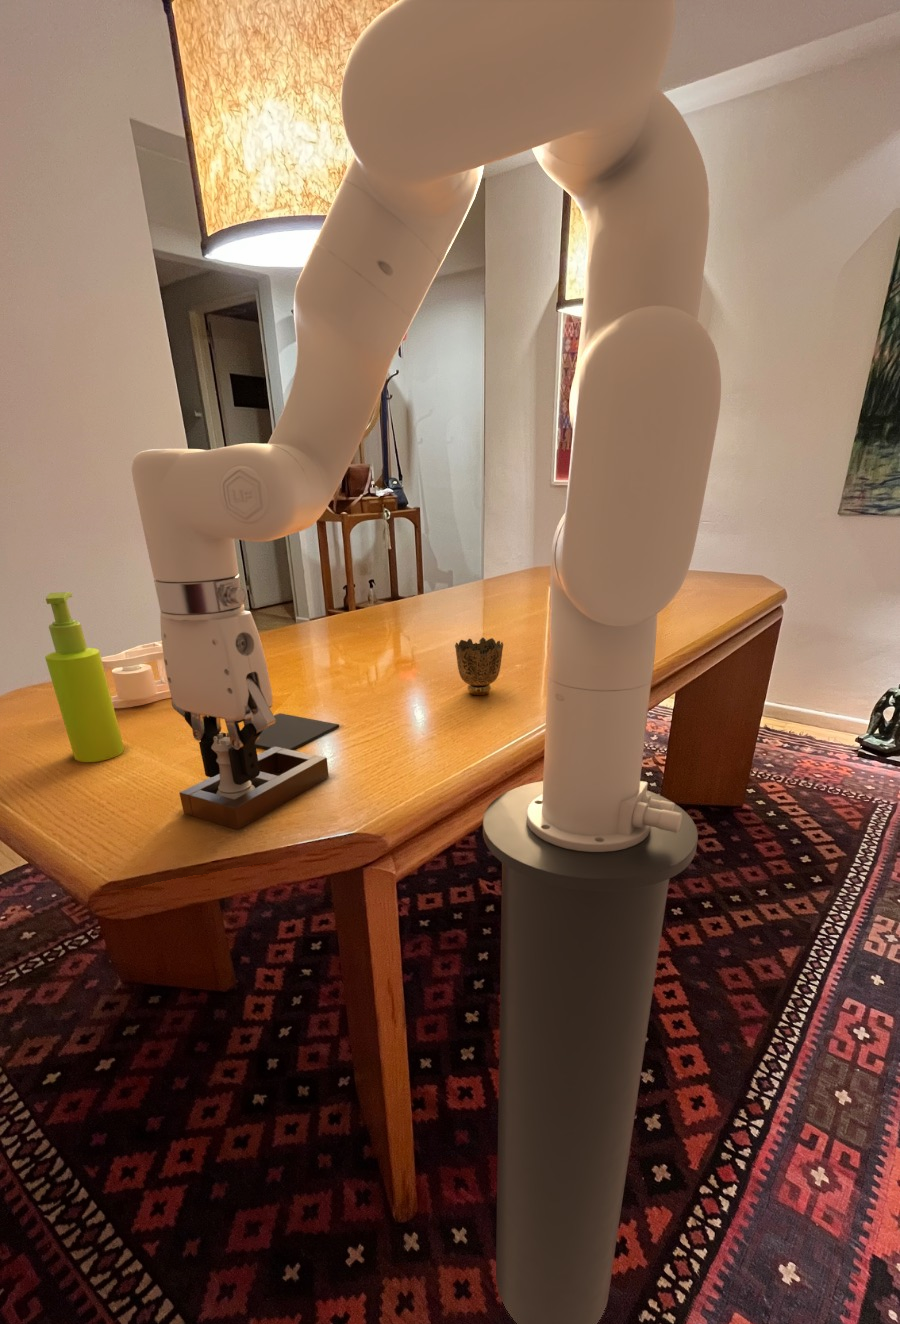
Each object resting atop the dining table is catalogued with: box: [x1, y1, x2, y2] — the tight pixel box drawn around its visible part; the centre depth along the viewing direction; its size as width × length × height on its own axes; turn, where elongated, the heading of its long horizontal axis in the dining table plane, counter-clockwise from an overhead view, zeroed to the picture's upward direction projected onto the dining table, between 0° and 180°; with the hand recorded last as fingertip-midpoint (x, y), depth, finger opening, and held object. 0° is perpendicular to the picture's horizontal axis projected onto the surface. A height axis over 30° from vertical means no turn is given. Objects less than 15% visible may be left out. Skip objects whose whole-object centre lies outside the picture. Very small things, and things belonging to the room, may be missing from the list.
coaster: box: [226, 713, 340, 751], centre depth 92 cm, size 11×11×1 cm
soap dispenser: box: [44, 591, 125, 763], centre depth 83 cm, size 6×7×20 cm
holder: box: [179, 747, 330, 831], centre depth 75 cm, size 8×14×2 cm, turn 151°
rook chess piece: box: [211, 731, 255, 799], centre depth 71 cm, size 4×4×8 cm
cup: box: [454, 637, 504, 696], centre depth 105 cm, size 8×7×8 cm
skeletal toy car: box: [101, 640, 172, 709], centre depth 109 cm, size 20×11×7 cm, turn 131°
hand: (232, 774), depth 71 cm, fingers closed on rook chess piece, 3 cm apart
